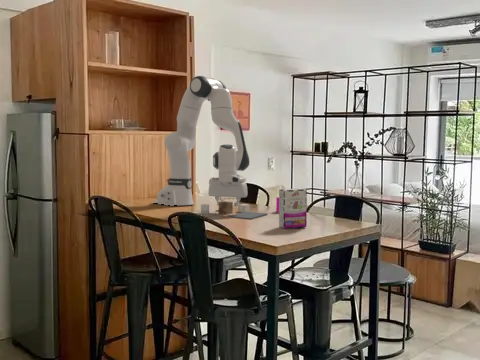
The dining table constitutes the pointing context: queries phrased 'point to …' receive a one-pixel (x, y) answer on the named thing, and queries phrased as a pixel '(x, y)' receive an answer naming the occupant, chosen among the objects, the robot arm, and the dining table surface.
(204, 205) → the grey cylinder
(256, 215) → the mat
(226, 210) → the walnut block
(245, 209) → the cream cube
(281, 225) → the candy bar box
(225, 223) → the dining table surface
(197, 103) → the robot arm
